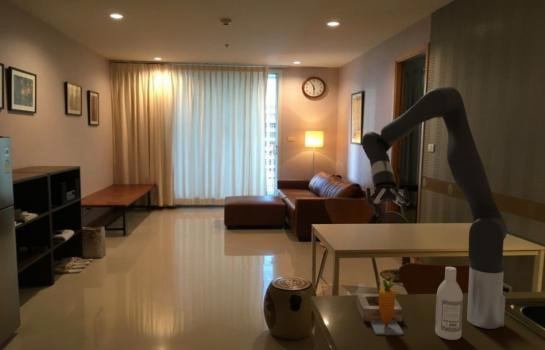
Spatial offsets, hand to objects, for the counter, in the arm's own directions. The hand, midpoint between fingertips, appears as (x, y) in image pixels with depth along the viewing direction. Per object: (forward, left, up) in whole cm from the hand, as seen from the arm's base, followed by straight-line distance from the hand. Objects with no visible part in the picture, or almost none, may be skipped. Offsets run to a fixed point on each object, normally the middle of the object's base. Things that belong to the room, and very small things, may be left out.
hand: (391, 215), depth 134 cm
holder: (+5, +4, -32) cm, 32 cm away
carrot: (+5, +15, -31) cm, 35 cm away
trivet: (+5, +15, -32) cm, 35 cm away
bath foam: (-12, +18, -32) cm, 39 cm away
